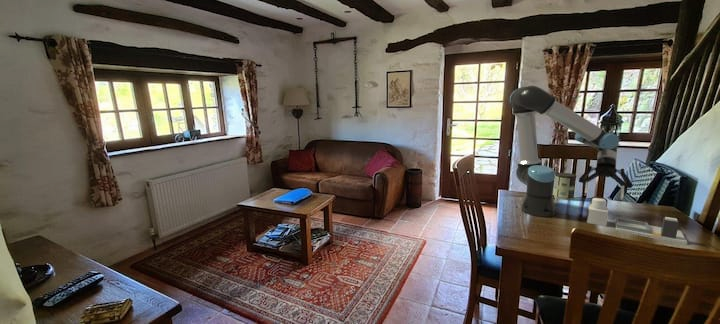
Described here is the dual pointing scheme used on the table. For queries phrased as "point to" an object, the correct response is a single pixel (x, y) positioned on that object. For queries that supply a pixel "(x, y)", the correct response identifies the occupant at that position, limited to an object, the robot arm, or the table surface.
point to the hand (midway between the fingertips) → (603, 196)
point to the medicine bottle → (597, 211)
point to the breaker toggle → (669, 227)
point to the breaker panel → (645, 230)
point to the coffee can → (564, 186)
